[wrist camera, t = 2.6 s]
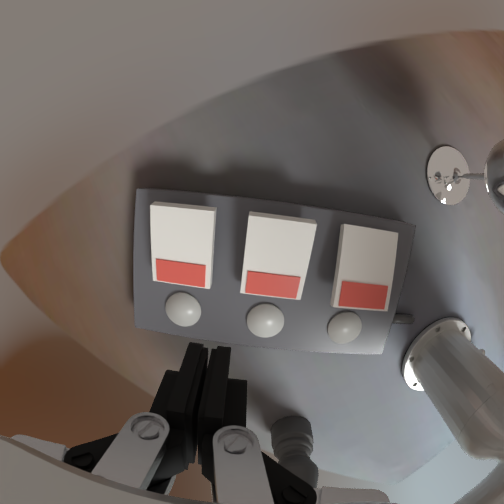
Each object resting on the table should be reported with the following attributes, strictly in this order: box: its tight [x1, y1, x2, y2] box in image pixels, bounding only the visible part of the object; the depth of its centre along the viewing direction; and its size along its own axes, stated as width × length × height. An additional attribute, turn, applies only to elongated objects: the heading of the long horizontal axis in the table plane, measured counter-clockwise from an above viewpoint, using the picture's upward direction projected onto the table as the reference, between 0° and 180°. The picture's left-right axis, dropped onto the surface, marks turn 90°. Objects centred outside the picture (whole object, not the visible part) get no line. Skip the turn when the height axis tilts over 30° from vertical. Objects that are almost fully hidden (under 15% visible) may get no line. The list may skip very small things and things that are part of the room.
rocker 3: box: [330, 224, 398, 311], centre depth 27 cm, size 6×8×1 cm
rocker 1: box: [150, 201, 217, 289], centre depth 27 cm, size 6×8×1 cm
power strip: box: [133, 188, 416, 354], centre depth 31 cm, size 35×16×3 cm, turn 83°
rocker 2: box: [240, 211, 317, 300], centre depth 27 cm, size 6×8×1 cm
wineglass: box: [427, 139, 504, 214], centre depth 20 cm, size 8×8×20 cm
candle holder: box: [271, 416, 318, 488], centre depth 26 cm, size 6×6×25 cm
